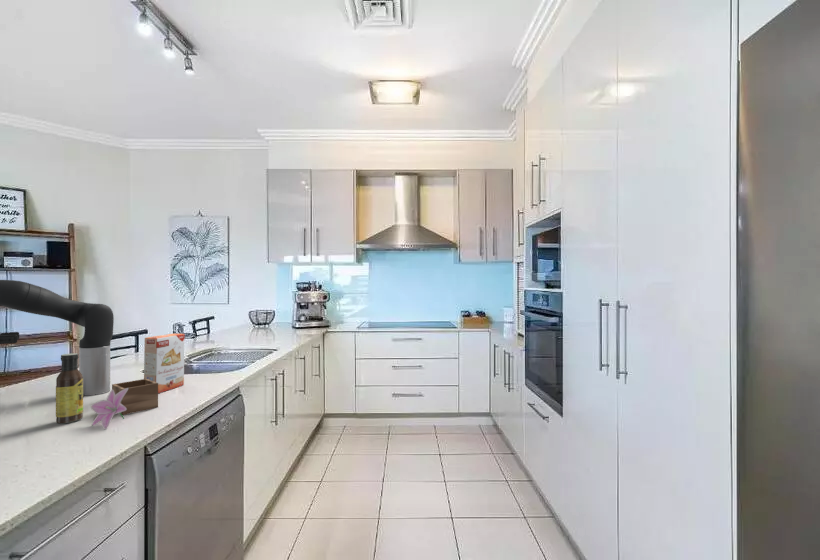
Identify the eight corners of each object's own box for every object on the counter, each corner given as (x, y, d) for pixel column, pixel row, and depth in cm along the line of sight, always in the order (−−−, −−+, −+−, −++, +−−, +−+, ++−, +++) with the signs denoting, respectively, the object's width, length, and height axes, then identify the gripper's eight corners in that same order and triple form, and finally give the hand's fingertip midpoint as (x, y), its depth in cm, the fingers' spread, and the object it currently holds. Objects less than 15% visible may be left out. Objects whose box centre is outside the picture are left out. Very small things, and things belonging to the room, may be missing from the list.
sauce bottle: (84, 420, 121) (84, 354, 121) (56, 426, 116) (56, 357, 116) (81, 415, 125) (81, 351, 125) (55, 420, 121) (55, 354, 121)
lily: (91, 423, 122) (77, 400, 117) (134, 401, 129) (122, 378, 124) (101, 445, 114) (86, 422, 109) (146, 420, 121) (134, 397, 117)
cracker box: (156, 394, 148) (156, 337, 148) (142, 394, 149) (143, 337, 150) (185, 385, 162) (185, 333, 162) (172, 384, 163) (172, 332, 163)
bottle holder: (111, 408, 132) (112, 384, 132) (146, 401, 140) (146, 378, 140) (122, 415, 126) (122, 389, 126) (158, 407, 134) (158, 383, 134)
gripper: (-77, 330, 97) (16, 325, 108) (-65, 325, 108) (19, 321, 119) (-78, 361, 97) (16, 353, 108) (-65, 354, 108) (19, 347, 119)
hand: (18, 337), depth 113 cm, fingers open, 8 cm apart
